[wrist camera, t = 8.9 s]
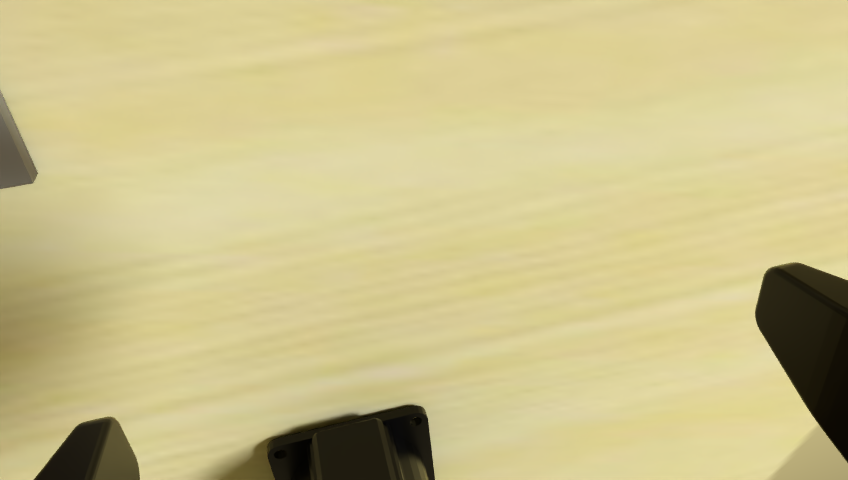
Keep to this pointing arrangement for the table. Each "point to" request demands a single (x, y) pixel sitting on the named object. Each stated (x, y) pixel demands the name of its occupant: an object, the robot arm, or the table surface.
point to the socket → (13, 152)
